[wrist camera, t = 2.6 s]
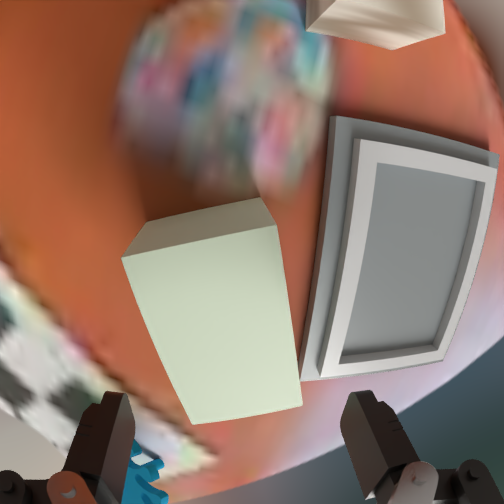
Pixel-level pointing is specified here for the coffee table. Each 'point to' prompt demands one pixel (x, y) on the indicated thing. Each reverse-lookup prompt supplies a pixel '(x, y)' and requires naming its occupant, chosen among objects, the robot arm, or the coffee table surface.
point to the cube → (377, 20)
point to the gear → (142, 481)
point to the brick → (218, 309)
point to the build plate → (393, 248)
